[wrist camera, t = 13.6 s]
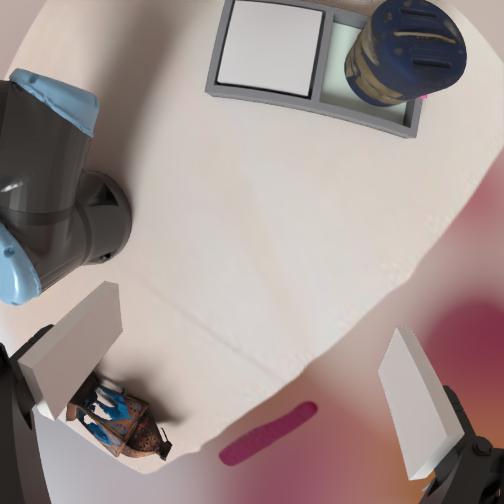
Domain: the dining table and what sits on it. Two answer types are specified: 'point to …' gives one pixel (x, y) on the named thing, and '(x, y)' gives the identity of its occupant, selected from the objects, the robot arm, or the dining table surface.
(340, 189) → the dining table surface
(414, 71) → the canister
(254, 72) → the grey divided tray
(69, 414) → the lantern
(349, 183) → the dining table surface
